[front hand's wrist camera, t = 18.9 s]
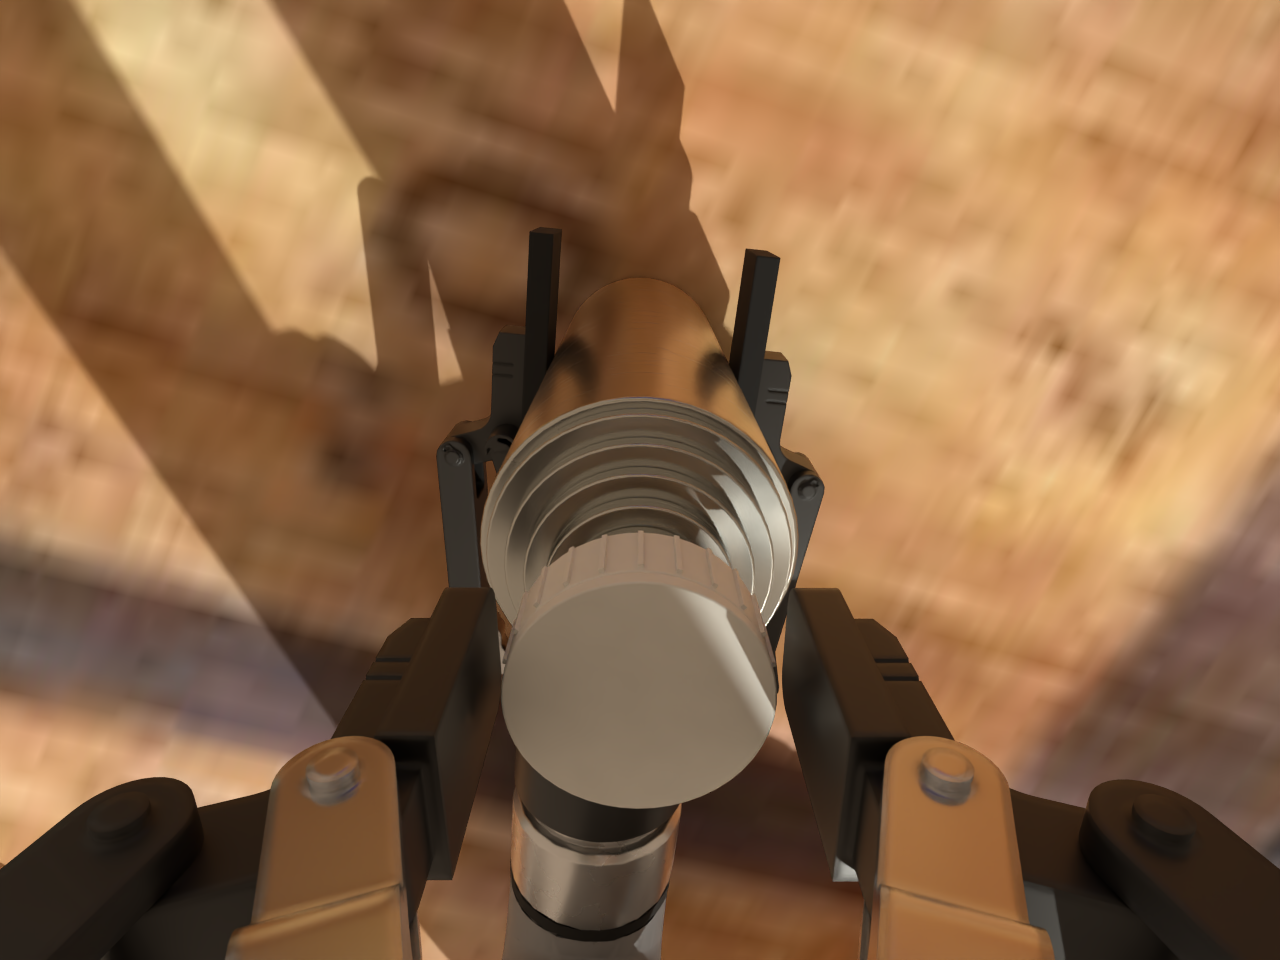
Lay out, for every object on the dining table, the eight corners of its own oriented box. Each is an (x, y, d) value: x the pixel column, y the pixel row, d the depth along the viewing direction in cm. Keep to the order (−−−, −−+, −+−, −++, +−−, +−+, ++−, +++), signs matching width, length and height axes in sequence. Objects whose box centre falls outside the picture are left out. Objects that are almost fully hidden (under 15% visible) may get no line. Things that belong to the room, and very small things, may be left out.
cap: (737, 755, 13) (749, 826, 12) (503, 727, 13) (486, 796, 11) (789, 547, 12) (810, 600, 10) (525, 511, 11) (508, 560, 10)
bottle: (542, 389, 33) (367, 764, 12) (601, 250, 31) (516, 405, 10) (674, 447, 34) (731, 888, 13) (740, 317, 32) (939, 588, 11)
